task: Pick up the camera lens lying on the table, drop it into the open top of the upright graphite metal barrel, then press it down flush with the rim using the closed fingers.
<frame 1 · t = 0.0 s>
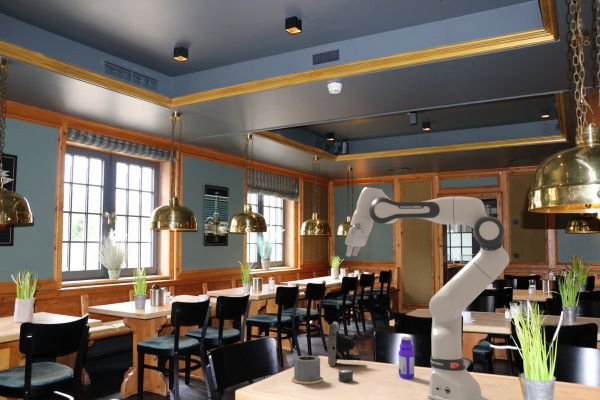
hand: (351, 256, 215), 52 cm above the table, fingers open, 8 cm apart
camera lens: (345, 380, 217), on the table
bottle: (406, 377, 223), on the table
lens barrel: (307, 380, 218), on the table
vintage camera: (345, 365, 246), on the table
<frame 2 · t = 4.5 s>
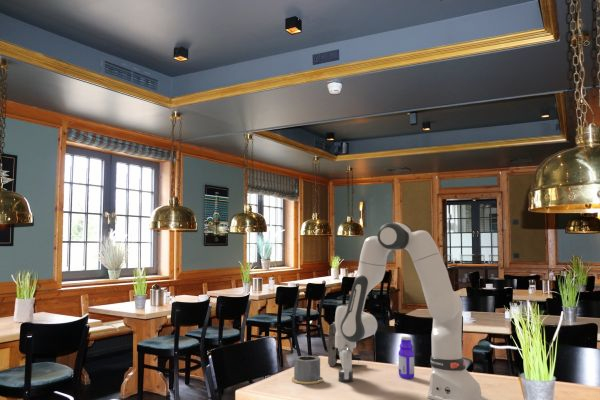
hand: (345, 376, 218), 2 cm above the table, fingers closed on camera lens, 6 cm apart
camera lens: (345, 380, 217), on the table, touching gripper
everything else where it was.
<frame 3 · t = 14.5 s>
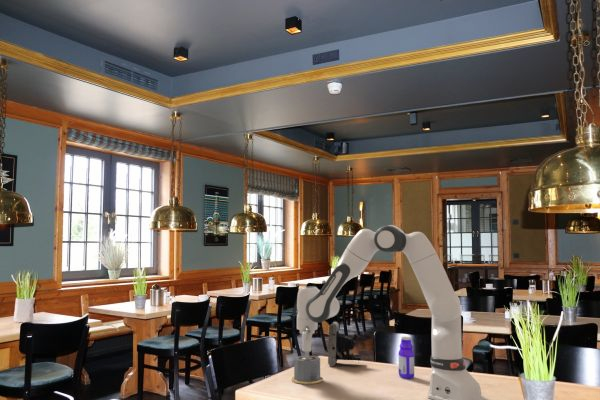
hand: (306, 358, 219), 9 cm above the table, fingers closed, pressing on camera lens
camera lens: (307, 368, 218), point 5 cm above the table, touching gripper, lens barrel
everything else where it was.
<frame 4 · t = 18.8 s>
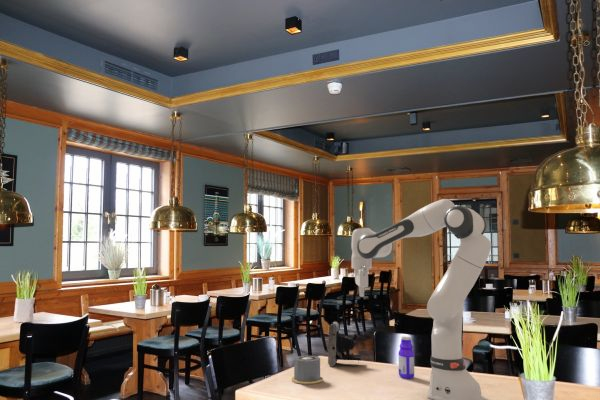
hand: (361, 296, 227), 34 cm above the table, fingers closed
camera lens: (307, 368, 218), point 5 cm above the table, touching lens barrel
everything else where it was.
at the end: camera lens 0.1 cm off-centre on the lens barrel, point 5.0 cm above the lens barrel's base; camera lens tilted 0°; the gripper is holding nothing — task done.
